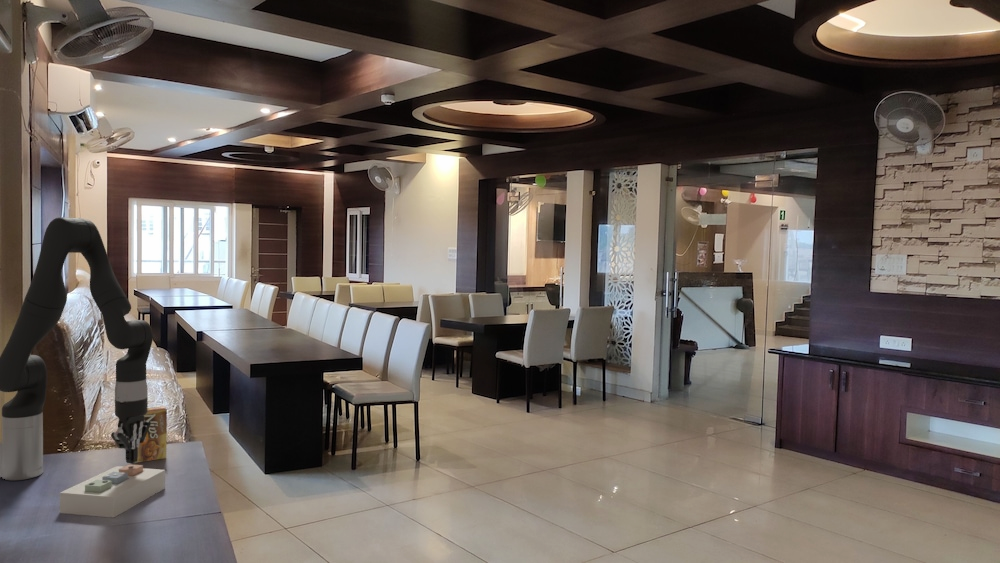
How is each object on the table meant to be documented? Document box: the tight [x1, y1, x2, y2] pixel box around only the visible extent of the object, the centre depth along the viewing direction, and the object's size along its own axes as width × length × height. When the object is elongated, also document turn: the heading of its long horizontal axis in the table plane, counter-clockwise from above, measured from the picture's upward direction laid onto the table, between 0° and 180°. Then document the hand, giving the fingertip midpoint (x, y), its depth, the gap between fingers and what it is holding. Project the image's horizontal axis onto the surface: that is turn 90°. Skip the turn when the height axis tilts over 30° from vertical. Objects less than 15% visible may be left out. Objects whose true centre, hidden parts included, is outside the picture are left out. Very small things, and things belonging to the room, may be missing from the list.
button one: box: [119, 463, 144, 476], centre depth 177 cm, size 4×4×3 cm
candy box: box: [133, 406, 168, 464], centre depth 203 cm, size 9×4×15 cm, turn 129°
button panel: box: [59, 465, 166, 518], centre depth 171 cm, size 14×20×5 cm
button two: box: [85, 480, 112, 493], centre depth 165 cm, size 4×4×3 cm
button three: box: [102, 472, 128, 484], centre depth 171 cm, size 4×4×3 cm
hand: (131, 462), depth 177 cm, fingers closed
